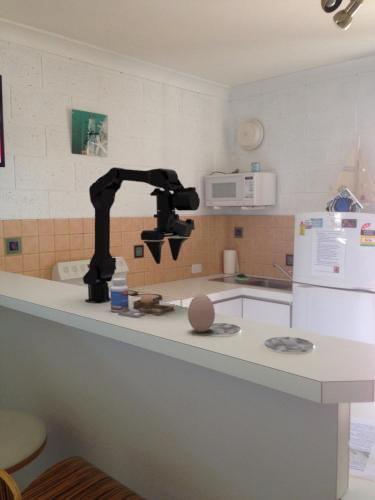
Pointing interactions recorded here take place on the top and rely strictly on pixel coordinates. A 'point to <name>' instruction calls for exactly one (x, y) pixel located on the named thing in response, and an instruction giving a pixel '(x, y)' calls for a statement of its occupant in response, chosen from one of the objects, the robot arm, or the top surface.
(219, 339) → the top surface
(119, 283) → the pill bottle
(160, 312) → the walnut socket
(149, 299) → the terracotta ball
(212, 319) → the egg
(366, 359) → the top surface
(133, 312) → the slate card
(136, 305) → the walnut frame
